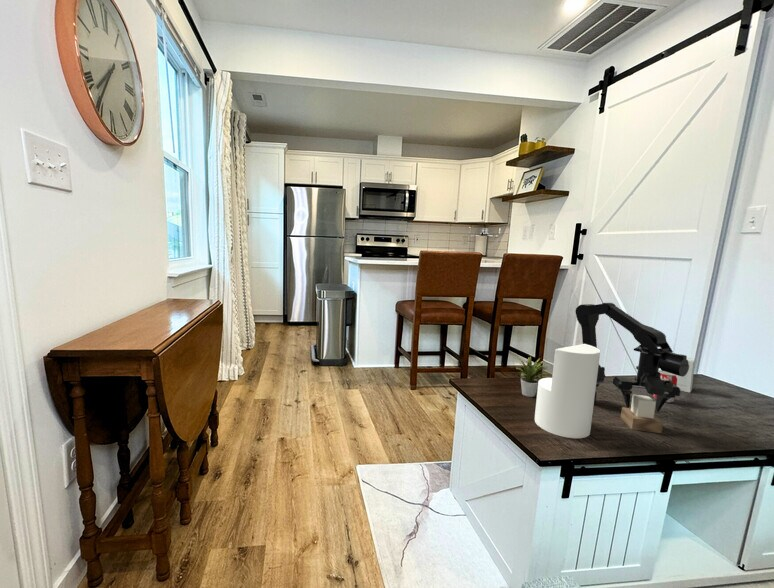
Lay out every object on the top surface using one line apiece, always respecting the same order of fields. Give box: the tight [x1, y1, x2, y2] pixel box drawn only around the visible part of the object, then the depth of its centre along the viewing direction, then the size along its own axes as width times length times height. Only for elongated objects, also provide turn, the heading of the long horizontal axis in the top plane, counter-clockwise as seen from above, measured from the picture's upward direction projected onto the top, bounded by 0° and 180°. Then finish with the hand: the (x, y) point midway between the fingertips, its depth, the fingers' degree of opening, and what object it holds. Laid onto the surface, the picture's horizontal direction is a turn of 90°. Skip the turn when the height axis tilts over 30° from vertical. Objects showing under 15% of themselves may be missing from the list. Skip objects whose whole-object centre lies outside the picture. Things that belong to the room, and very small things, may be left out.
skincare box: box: [676, 357, 696, 393], centre depth 161 cm, size 8×6×15 cm
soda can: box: [653, 370, 677, 404], centre depth 147 cm, size 7×7×12 cm
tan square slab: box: [620, 406, 664, 434], centre depth 124 cm, size 9×9×4 cm
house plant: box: [515, 355, 552, 398], centre depth 145 cm, size 14×14×16 cm
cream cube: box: [630, 394, 656, 418], centre depth 123 cm, size 5×5×6 cm
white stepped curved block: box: [534, 343, 601, 439], centre depth 120 cm, size 17×17×28 cm
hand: (642, 409), depth 124 cm, fingers open, 9 cm apart
